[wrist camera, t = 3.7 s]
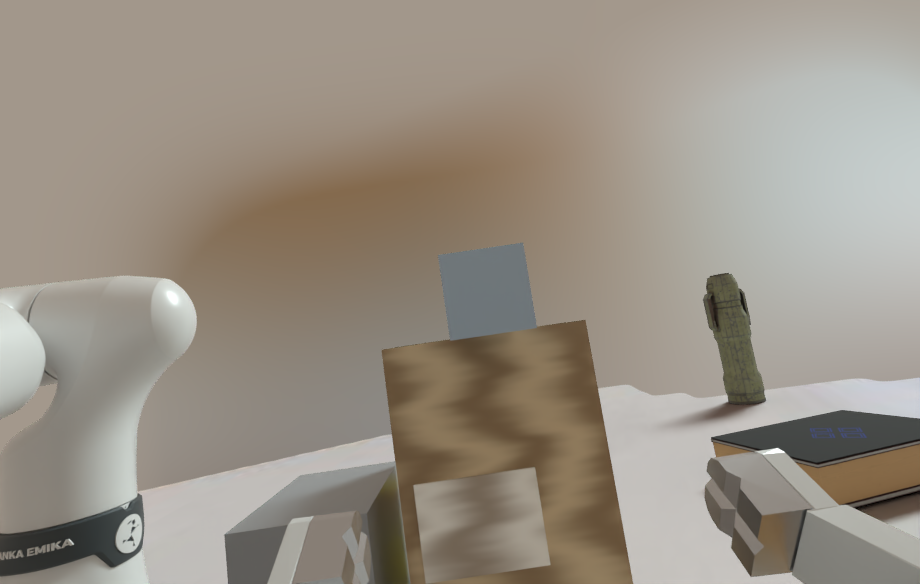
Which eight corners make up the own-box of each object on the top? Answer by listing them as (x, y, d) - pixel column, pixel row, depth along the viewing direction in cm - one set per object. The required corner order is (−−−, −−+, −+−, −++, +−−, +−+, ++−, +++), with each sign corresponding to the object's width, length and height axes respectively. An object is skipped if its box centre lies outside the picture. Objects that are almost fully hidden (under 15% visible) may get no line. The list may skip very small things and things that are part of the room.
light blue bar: (450, 340, 20) (438, 255, 21) (457, 337, 46) (451, 299, 47) (536, 328, 20) (522, 242, 21) (495, 332, 46) (489, 294, 47)
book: (719, 481, 68) (710, 437, 69) (851, 451, 73) (841, 409, 74) (830, 522, 51) (816, 462, 52) (993, 478, 56) (978, 424, 57)
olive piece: (716, 403, 124) (689, 279, 128) (749, 396, 127) (722, 275, 131) (744, 406, 115) (714, 273, 119) (778, 398, 118) (749, 269, 123)
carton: (434, 780, 27) (380, 347, 30) (443, 646, 39) (404, 347, 42) (663, 745, 27) (585, 317, 30) (601, 622, 39) (551, 325, 42)
